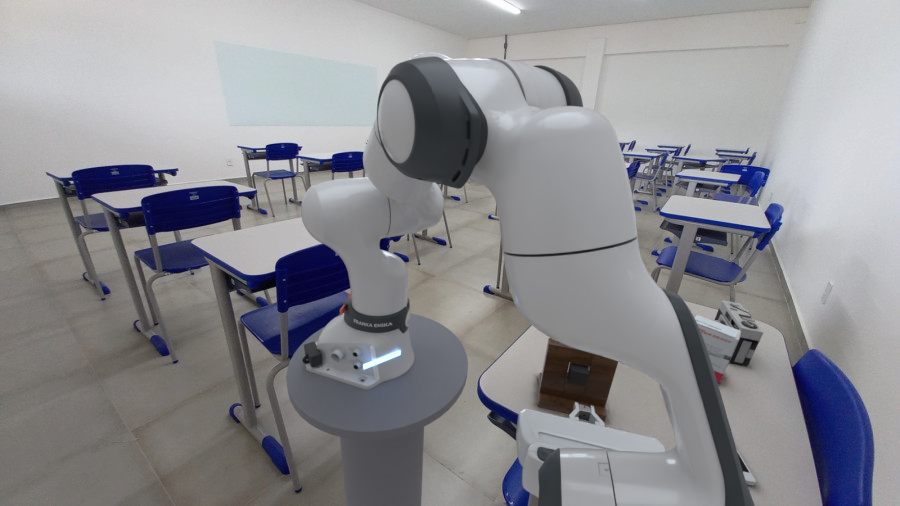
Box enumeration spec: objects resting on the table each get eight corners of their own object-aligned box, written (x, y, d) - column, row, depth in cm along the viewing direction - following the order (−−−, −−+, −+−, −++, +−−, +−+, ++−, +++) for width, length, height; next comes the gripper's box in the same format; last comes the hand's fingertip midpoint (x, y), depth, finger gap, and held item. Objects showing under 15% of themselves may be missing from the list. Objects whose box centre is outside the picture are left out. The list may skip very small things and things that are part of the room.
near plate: (604, 422, 64) (621, 365, 59) (537, 406, 67) (548, 350, 62) (598, 390, 72) (613, 337, 67) (538, 377, 74) (548, 325, 69)
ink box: (723, 374, 78) (743, 329, 74) (719, 385, 75) (739, 339, 71) (679, 355, 84) (695, 312, 79) (674, 364, 80) (690, 320, 76)
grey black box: (693, 327, 96) (705, 294, 92) (728, 334, 93) (742, 301, 89) (708, 357, 84) (722, 322, 80) (749, 367, 81) (766, 331, 77)
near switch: (585, 387, 63) (589, 373, 62) (568, 383, 64) (571, 370, 63) (584, 375, 66) (587, 363, 65) (567, 372, 66) (570, 359, 65)
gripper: (693, 496, 41) (659, 407, 53) (516, 450, 45) (522, 378, 58) (677, 530, 43) (647, 437, 56) (510, 484, 48) (517, 407, 60)
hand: (583, 406), depth 57 cm, fingers closed
